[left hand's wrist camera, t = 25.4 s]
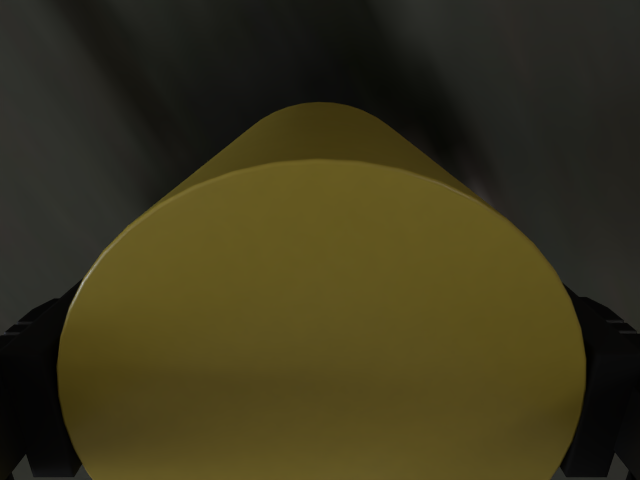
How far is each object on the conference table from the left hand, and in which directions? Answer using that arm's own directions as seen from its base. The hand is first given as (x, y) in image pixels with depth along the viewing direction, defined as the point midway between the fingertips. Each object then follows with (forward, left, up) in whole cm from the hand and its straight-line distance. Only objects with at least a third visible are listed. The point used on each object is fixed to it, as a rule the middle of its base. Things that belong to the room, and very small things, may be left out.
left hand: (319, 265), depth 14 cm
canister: (0, 0, -6) cm, 6 cm away
